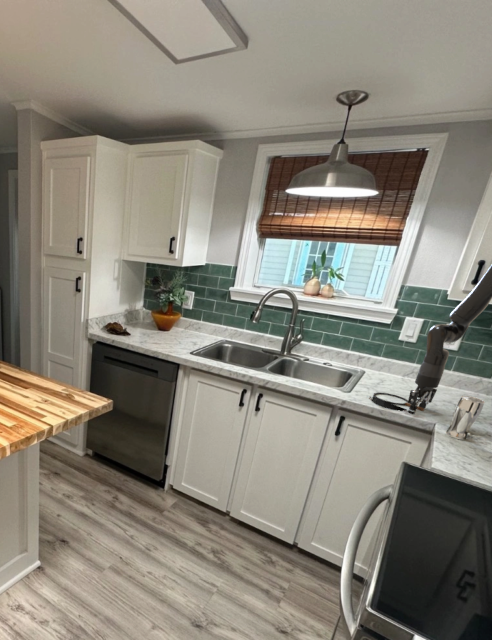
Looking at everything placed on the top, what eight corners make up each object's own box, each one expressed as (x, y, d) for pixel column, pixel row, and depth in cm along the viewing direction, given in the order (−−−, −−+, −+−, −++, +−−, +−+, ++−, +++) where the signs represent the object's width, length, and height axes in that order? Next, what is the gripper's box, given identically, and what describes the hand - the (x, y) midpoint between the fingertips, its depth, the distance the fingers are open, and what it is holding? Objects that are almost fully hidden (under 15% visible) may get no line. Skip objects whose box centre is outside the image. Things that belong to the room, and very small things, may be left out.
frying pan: (429, 416, 169) (433, 407, 167) (410, 420, 164) (414, 410, 162) (383, 399, 186) (385, 390, 184) (364, 402, 180) (367, 393, 179)
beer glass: (443, 429, 156) (459, 393, 150) (466, 435, 152) (484, 399, 147) (444, 436, 151) (461, 399, 145) (468, 442, 147) (486, 405, 141)
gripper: (429, 378, 156) (414, 418, 162) (450, 375, 162) (435, 414, 168) (409, 372, 162) (395, 411, 168) (430, 370, 168) (416, 407, 174)
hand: (415, 412), depth 168 cm, fingers open, 5 cm apart
